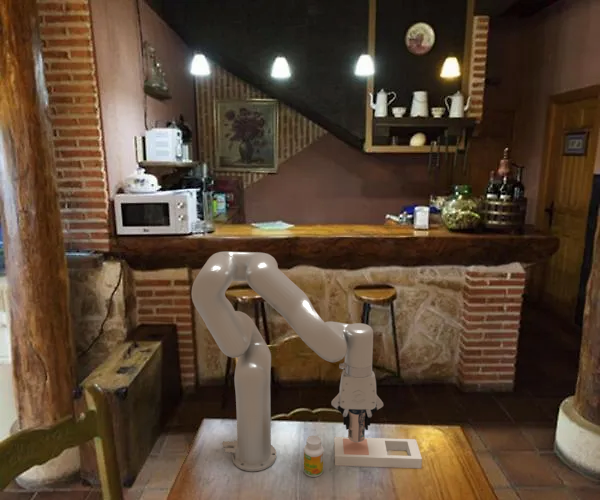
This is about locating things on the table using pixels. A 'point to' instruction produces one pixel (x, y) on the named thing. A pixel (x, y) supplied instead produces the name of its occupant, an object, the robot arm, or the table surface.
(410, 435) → the table surface
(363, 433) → the beer can
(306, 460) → the supplement bottle
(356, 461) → the well board
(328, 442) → the table surface
